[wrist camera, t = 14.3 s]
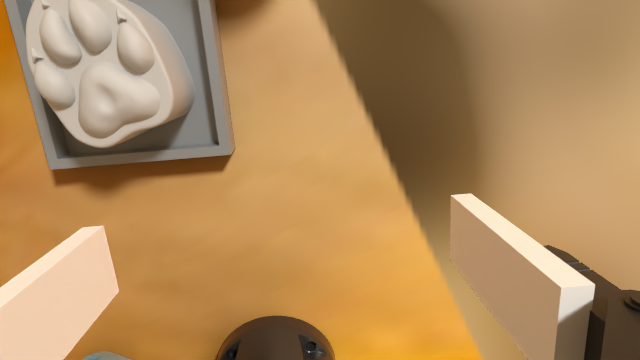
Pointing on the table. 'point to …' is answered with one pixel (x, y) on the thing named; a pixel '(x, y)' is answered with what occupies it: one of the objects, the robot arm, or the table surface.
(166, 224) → the table surface
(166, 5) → the charcoal tray
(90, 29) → the lumpy-topped squat cylinder
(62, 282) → the robot arm
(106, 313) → the table surface
